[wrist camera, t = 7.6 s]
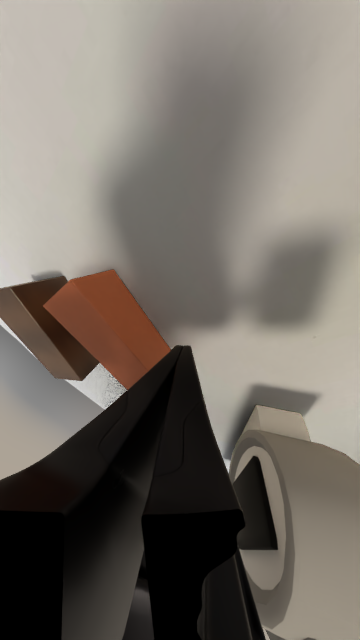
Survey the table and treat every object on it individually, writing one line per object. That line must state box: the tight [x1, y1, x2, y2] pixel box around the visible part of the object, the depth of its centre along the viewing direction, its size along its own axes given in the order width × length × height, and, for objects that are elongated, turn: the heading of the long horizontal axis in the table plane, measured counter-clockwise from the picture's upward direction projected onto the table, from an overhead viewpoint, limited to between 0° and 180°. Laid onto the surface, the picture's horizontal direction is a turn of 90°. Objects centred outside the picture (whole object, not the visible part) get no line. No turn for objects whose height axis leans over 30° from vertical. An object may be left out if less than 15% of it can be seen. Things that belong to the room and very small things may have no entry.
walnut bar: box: [0, 276, 100, 381], centre depth 14 cm, size 10×4×4 cm, turn 10°
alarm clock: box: [229, 405, 360, 640], centre depth 14 cm, size 23×6×13 cm, turn 1°
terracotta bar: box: [43, 270, 171, 390], centre depth 12 cm, size 10×4×4 cm, turn 30°
